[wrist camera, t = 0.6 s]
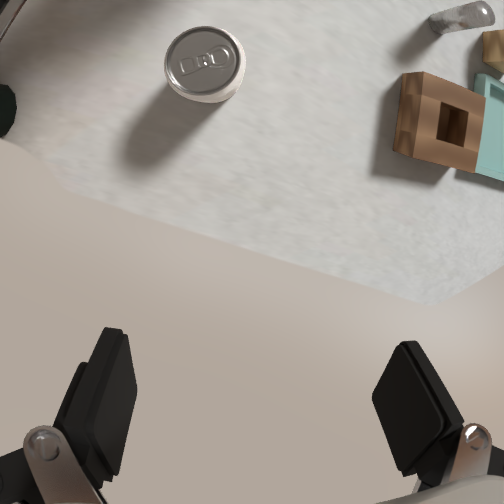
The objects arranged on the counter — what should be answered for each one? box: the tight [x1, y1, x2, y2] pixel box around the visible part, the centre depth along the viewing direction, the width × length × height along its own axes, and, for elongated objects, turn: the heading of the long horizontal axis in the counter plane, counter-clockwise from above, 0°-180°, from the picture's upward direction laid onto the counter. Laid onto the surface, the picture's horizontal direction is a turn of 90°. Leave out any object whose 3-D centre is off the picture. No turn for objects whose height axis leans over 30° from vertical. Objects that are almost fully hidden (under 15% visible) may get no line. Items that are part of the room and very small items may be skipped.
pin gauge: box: [429, 1, 495, 34], centre depth 23 cm, size 3×3×10 cm
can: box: [164, 26, 246, 103], centre depth 25 cm, size 6×6×12 cm
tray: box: [474, 74, 504, 181], centre depth 33 cm, size 14×12×2 cm
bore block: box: [393, 72, 486, 174], centre depth 31 cm, size 10×10×5 cm
